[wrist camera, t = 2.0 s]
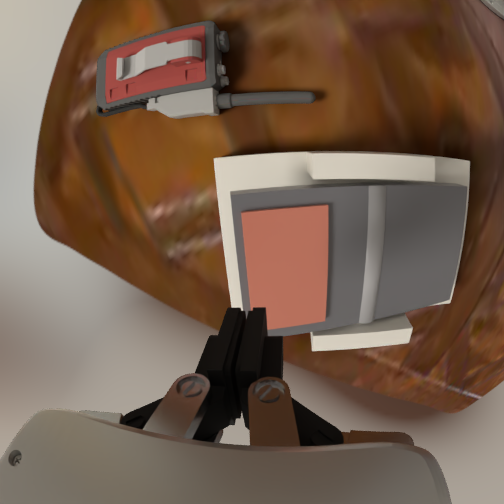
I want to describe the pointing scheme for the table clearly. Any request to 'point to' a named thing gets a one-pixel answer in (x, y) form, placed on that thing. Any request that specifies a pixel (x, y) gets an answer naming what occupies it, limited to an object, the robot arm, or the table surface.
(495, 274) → the table surface
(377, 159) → the switch housing
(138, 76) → the walkie-talkie
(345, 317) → the rocker
